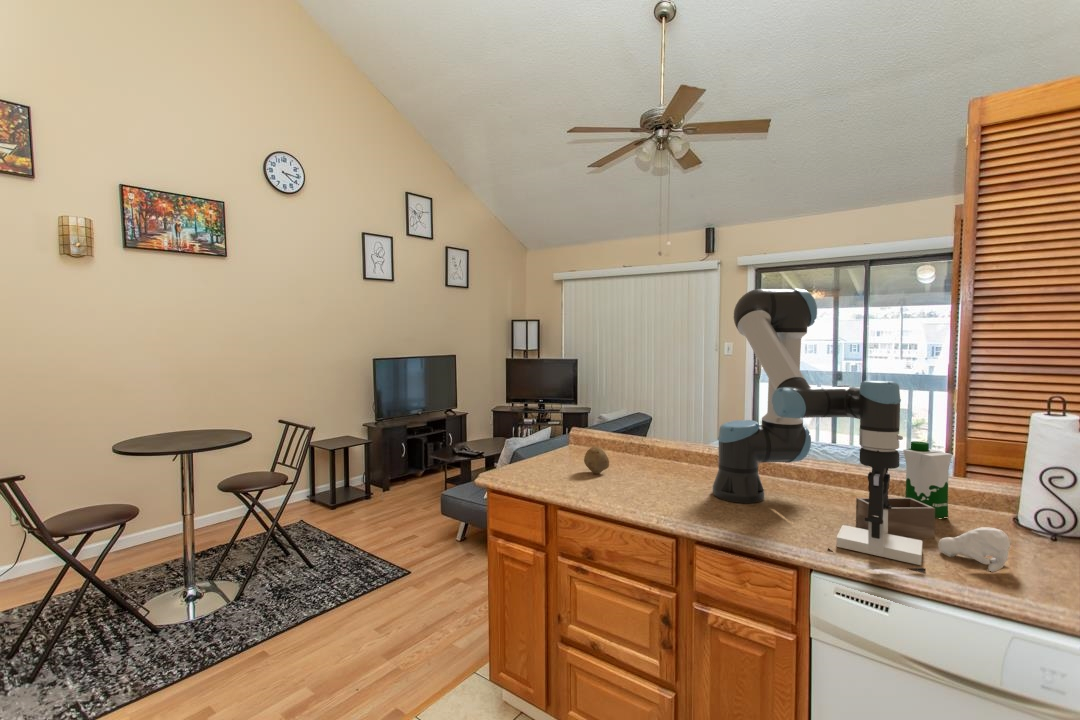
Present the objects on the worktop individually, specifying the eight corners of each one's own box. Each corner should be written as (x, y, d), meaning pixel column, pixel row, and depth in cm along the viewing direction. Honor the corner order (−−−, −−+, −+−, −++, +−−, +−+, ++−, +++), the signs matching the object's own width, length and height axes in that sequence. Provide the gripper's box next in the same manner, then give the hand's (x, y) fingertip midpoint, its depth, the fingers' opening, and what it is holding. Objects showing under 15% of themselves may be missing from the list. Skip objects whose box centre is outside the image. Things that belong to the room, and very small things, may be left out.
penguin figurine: (1008, 535, 101) (934, 525, 110) (1013, 576, 101) (938, 564, 109) (1008, 526, 106) (937, 518, 114) (1012, 566, 106) (941, 555, 114)
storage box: (855, 528, 128) (856, 498, 128) (910, 528, 128) (910, 497, 128) (876, 540, 120) (877, 508, 120) (934, 540, 120) (935, 508, 120)
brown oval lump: (579, 471, 185) (579, 445, 184) (599, 468, 189) (599, 443, 188) (591, 477, 177) (591, 450, 176) (612, 474, 180) (612, 447, 180)
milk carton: (921, 508, 142) (923, 440, 142) (955, 519, 134) (957, 446, 133) (897, 511, 140) (899, 442, 139) (930, 523, 131) (932, 448, 130)
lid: (842, 536, 122) (842, 524, 122) (922, 553, 112) (922, 540, 112) (836, 549, 115) (836, 537, 114) (921, 569, 105) (921, 555, 105)
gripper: (895, 459, 101) (894, 565, 101) (902, 443, 119) (901, 532, 120) (852, 454, 106) (852, 555, 106) (865, 439, 124) (864, 525, 124)
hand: (878, 543), depth 113 cm, fingers open, 11 cm apart
